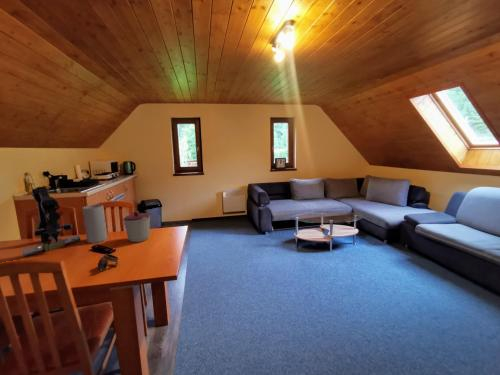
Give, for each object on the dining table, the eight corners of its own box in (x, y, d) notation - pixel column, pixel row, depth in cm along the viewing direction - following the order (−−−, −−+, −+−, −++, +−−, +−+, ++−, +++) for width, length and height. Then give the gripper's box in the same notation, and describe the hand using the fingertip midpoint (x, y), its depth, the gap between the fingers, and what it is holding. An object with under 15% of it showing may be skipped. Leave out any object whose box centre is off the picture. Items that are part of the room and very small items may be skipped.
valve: (22, 255, 160) (20, 245, 159) (77, 240, 185) (76, 231, 184) (25, 257, 156) (23, 247, 155) (81, 241, 181) (80, 233, 180)
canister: (146, 233, 192) (143, 206, 189) (157, 239, 180) (154, 210, 177) (121, 240, 180) (117, 211, 176) (131, 246, 167) (127, 215, 164)
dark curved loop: (99, 266, 141) (105, 252, 142) (115, 272, 142) (122, 257, 144) (90, 270, 129) (97, 255, 131) (108, 276, 131) (116, 261, 132)
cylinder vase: (111, 238, 184) (106, 205, 180) (93, 244, 174) (88, 209, 170) (102, 236, 191) (97, 204, 187) (84, 241, 181) (79, 207, 177)
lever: (48, 238, 169) (48, 236, 169) (55, 237, 172) (55, 235, 171) (49, 244, 159) (49, 242, 158) (56, 242, 161) (56, 240, 161)
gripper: (29, 225, 149) (35, 250, 152) (67, 218, 158) (72, 242, 161) (34, 220, 158) (39, 244, 161) (70, 214, 167) (74, 237, 170)
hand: (56, 241), depth 163 cm, fingers closed
